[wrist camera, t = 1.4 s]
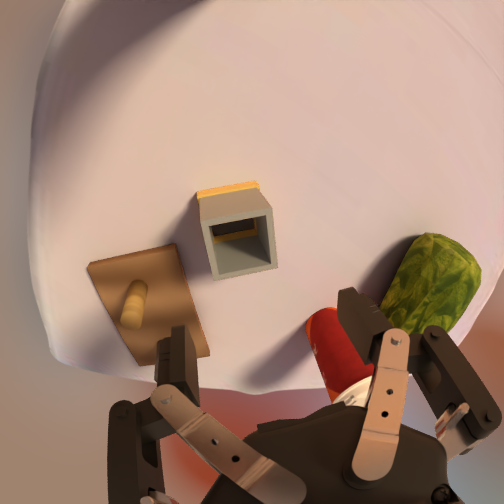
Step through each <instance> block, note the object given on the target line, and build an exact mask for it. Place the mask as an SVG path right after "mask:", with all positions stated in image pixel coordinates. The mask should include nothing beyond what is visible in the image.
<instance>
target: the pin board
mask: <svg viewBox="0 0 504 504" xmlns="http://www.w3.org/2000/svg"><path fill="white" fill-rule="evenodd" d="M87 269H88V272H89V274H90V276H91V278H92V280H93V283H94V285H95V287H96V289H97V291H98V293H99V295H100V297H101V299H102V301H103V303H104V305H105V307H106V309H107V311H108V313H109V315H110V317H111V318H112V320H113V322H114V324H115V326H116V328H117V329H118V331H119V333H120V335H121V337H122V338H123V340H124V342H125V343H126V345H127V347H128V348H129V350H130V352H131V353H132V355H133V357H134V358H135V360H136V361H137V363H138V365H139V366H146V365H154V364H155V376H154V380H155V381H156V382H157V378H158V362H159V348H160V344H161V342H162V341H163V339H164V338H165V337H171V328H172V326H176V325H182V324H186V325H187V327H188V329H189V332H190V334H191V337H192V339H193V342H194V345H195V348H196V354H197V358H202V357H208V356H210V351H209V347H208V344H207V342H206V339H205V336H204V333H203V330H202V327H201V324H200V321H199V318H198V315H197V312H196V309H195V306H194V303H193V300H192V297H191V294H190V290H189V287H188V284H187V281H186V278H185V274H184V271H183V268H182V264H181V261H180V257H179V254H178V250H177V247H176V244H171V245H166V246H162V247H157V248H152V249H148V250H143V251H138V252H134V253H129V254H125V255H120V256H116V257H112V258H107V259H103V260H98V261H94V262H90V264H89V265H88V267H87Z"/></svg>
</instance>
